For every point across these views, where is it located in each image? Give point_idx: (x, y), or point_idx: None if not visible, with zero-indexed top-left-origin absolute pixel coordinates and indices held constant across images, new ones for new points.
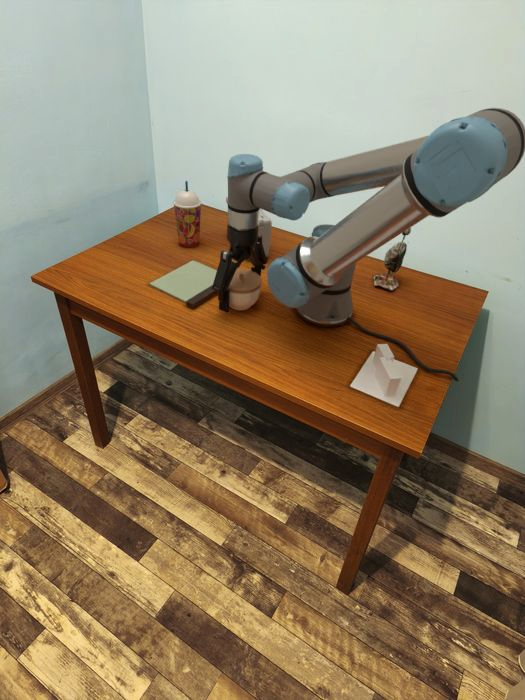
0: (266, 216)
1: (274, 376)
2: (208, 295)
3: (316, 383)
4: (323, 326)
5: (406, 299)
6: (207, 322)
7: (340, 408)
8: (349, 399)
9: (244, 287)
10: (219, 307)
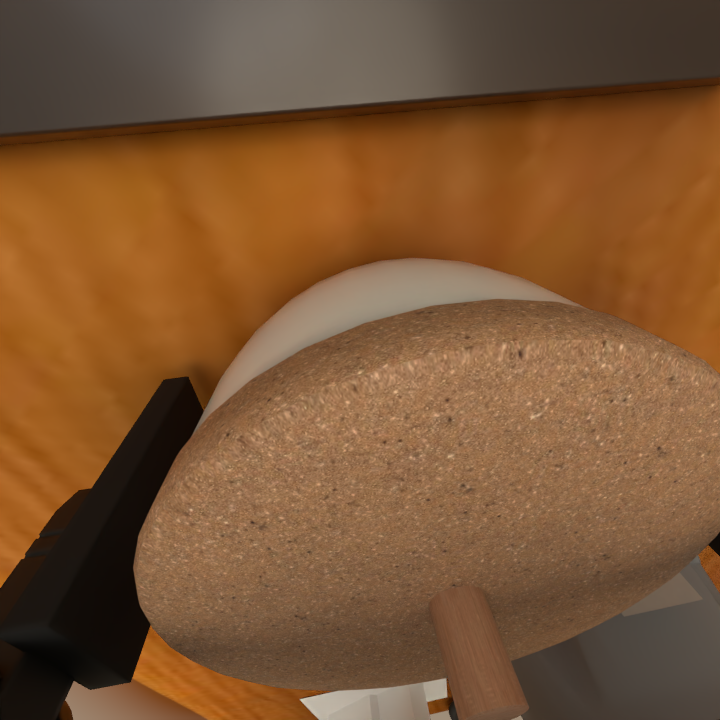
0: None
1: (156, 662)
2: (200, 122)
3: (243, 686)
4: None
5: None
6: (37, 382)
7: (230, 717)
8: (266, 710)
9: (326, 681)
10: (158, 394)
